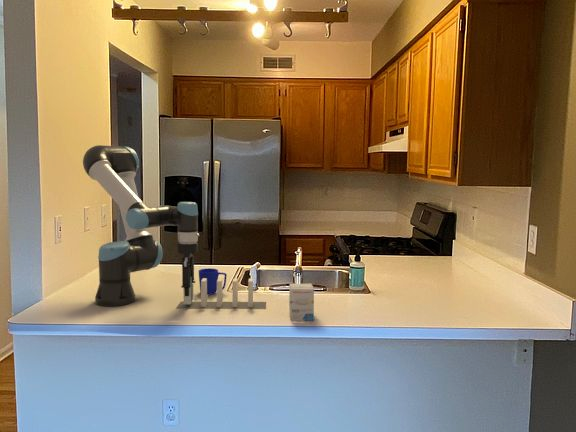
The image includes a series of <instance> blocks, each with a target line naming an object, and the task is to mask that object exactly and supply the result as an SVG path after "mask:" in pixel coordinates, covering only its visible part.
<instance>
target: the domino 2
mask: <svg viewBox="0 0 576 432" xmlns="http://www.w3.org/2000/svg"><path fill="white" fill-rule="evenodd" d="M222 288H223V278H220V277H218V280H217V291H216V302H217V307H221V306H222V302H223V290H222Z"/></svg>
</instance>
